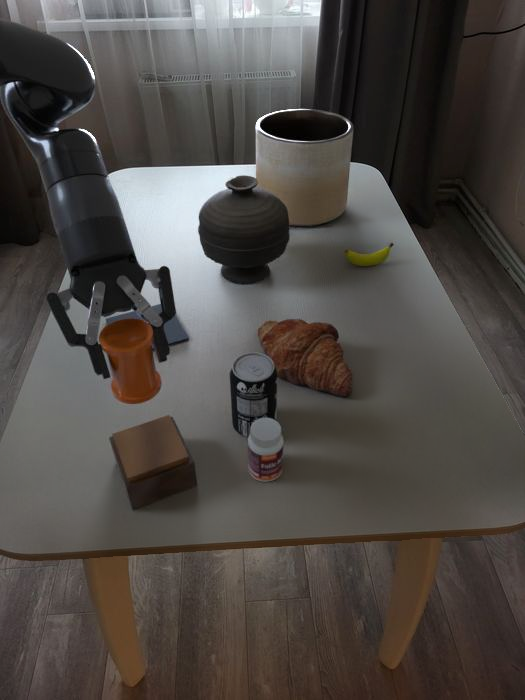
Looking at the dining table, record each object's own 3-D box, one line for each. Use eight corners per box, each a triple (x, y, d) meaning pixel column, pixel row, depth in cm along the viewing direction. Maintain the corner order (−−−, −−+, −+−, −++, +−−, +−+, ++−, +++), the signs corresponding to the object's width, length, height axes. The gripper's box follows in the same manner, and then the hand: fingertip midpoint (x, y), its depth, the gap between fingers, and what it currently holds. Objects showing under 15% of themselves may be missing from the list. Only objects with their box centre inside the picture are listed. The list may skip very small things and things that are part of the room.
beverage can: (257, 402, 87) (256, 343, 79) (285, 427, 83) (287, 368, 75) (223, 422, 84) (219, 363, 76) (251, 449, 80) (249, 390, 72)
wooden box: (132, 510, 72) (124, 483, 68) (115, 460, 78) (107, 432, 74) (197, 485, 75) (193, 457, 71) (176, 439, 81) (171, 411, 77)
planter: (271, 183, 147) (271, 104, 134) (353, 194, 142) (362, 113, 129) (243, 221, 131) (240, 136, 118) (335, 236, 126) (343, 148, 113)
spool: (119, 410, 63) (106, 357, 58) (106, 378, 67) (93, 326, 62) (168, 394, 65) (159, 342, 60) (153, 364, 69) (144, 312, 64)
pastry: (244, 390, 89) (243, 352, 84) (259, 330, 100) (258, 294, 95) (350, 401, 87) (356, 363, 82) (352, 338, 99) (357, 302, 93)
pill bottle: (263, 489, 75) (263, 449, 69) (241, 466, 77) (239, 426, 72) (289, 470, 77) (291, 430, 71) (267, 449, 80) (267, 409, 74)
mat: (122, 359, 94) (122, 357, 94) (105, 320, 103) (105, 318, 102) (189, 340, 98) (189, 337, 98) (168, 303, 107) (167, 301, 106)
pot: (185, 286, 110) (181, 187, 98) (217, 249, 124) (217, 158, 112) (271, 304, 106) (278, 203, 94) (295, 263, 120) (303, 171, 108)
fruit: (388, 260, 118) (392, 240, 115) (391, 266, 116) (395, 245, 113) (341, 264, 117) (344, 243, 114) (344, 269, 116) (346, 248, 112)
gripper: (20, 229, 56) (69, 387, 56) (157, 201, 61) (203, 347, 61) (27, 250, 63) (71, 391, 63) (149, 224, 68) (190, 355, 68)
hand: (135, 369), depth 62 cm, fingers closed on spool, 5 cm apart
